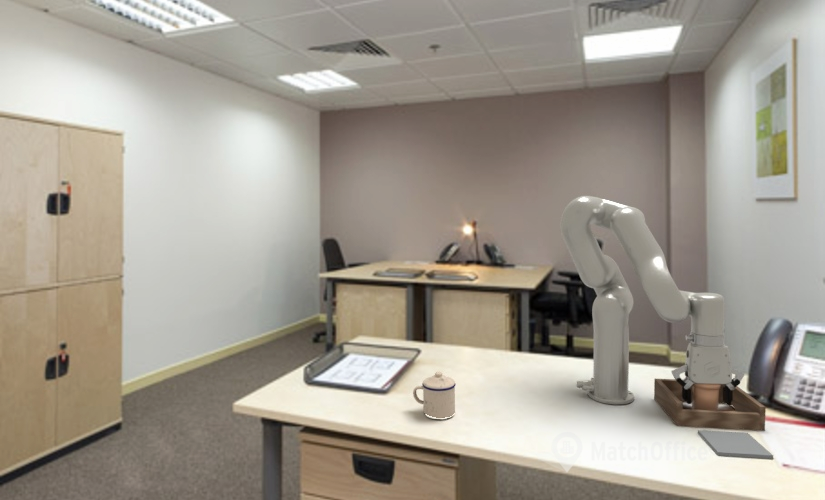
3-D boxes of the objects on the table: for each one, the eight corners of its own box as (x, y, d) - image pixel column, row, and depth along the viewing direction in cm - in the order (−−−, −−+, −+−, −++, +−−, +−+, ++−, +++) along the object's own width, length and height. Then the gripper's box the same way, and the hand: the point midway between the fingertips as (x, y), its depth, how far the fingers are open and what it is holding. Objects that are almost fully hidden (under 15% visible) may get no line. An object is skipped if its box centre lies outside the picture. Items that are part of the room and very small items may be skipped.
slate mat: (718, 455, 106) (718, 452, 106) (697, 433, 117) (697, 429, 117) (773, 459, 105) (773, 455, 104) (747, 435, 115) (747, 432, 115)
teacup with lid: (459, 409, 134) (458, 368, 134) (451, 423, 126) (450, 379, 125) (419, 404, 138) (418, 365, 138) (408, 417, 130) (407, 375, 129)
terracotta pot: (696, 418, 126) (697, 384, 125) (686, 407, 132) (687, 375, 132) (724, 419, 124) (725, 385, 124) (713, 408, 131) (714, 376, 130)
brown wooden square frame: (677, 426, 121) (677, 403, 121) (654, 398, 139) (654, 378, 139) (764, 430, 118) (765, 406, 117) (729, 401, 136) (730, 381, 135)
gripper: (677, 343, 125) (677, 407, 126) (751, 343, 122) (750, 409, 123) (667, 335, 132) (667, 396, 133) (736, 336, 129) (735, 398, 130)
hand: (707, 402), depth 128 cm, fingers open, 9 cm apart
